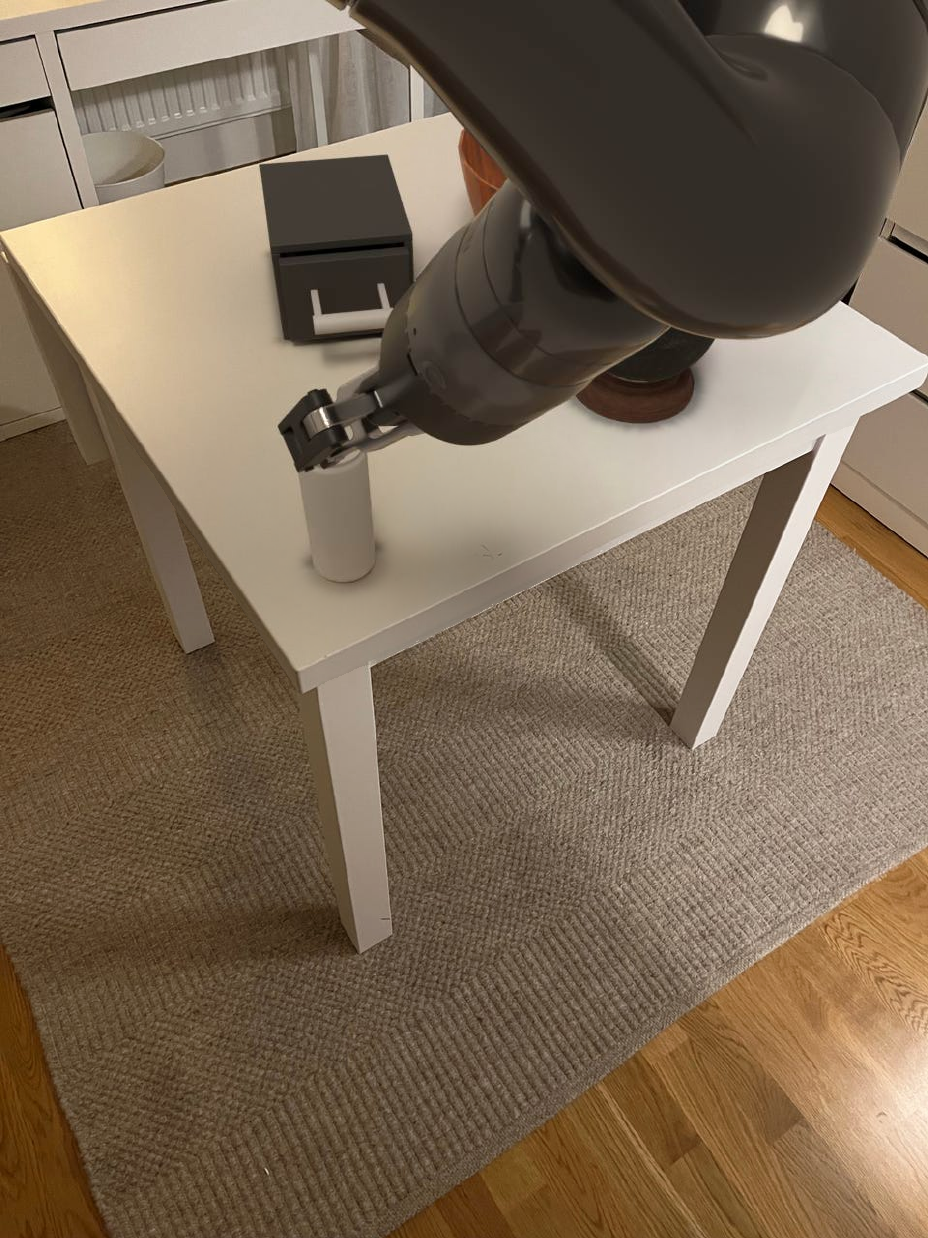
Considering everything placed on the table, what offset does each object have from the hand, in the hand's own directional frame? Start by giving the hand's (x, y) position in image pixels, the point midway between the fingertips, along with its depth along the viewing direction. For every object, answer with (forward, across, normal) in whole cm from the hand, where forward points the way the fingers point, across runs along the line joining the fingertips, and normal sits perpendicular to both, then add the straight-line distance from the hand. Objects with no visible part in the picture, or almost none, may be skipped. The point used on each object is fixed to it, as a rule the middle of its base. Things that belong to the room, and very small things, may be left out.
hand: (388, 424), depth 53 cm
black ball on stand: (+25, -32, +1) cm, 41 cm away
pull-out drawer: (+38, -14, -16) cm, 44 cm away
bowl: (+38, -40, -14) cm, 57 cm away
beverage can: (+21, 0, +6) cm, 22 cm away
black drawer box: (+42, -16, -19) cm, 49 cm away
